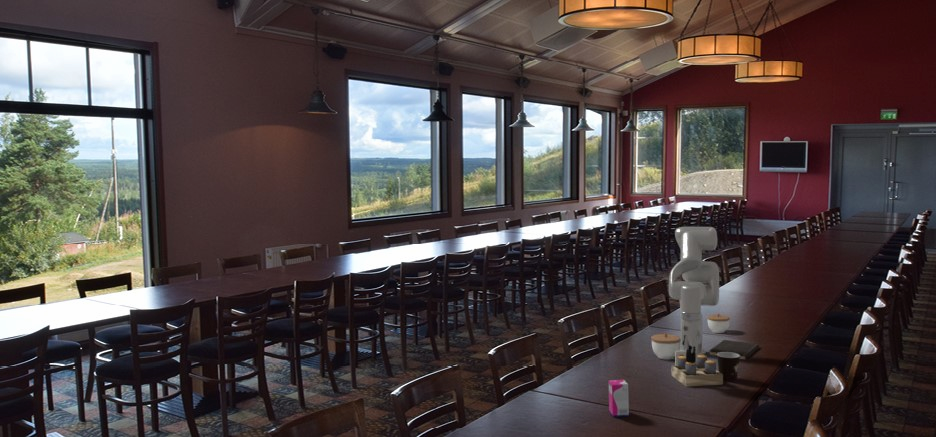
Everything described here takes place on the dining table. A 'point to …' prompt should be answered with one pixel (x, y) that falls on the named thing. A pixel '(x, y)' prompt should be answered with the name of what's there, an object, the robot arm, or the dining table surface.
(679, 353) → the card
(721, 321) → the lidded jar
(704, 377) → the button board
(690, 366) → the button
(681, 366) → the button
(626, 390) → the supplement box
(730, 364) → the coffee mug
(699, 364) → the button
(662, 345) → the lidded bowl
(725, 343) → the hardcover book
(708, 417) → the dining table surface
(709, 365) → the button
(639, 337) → the dining table surface
